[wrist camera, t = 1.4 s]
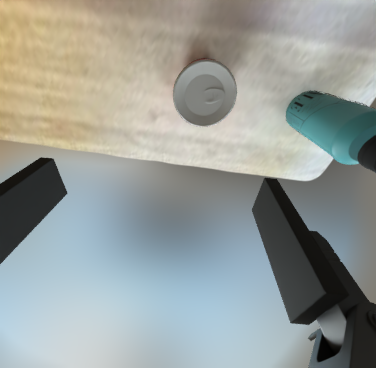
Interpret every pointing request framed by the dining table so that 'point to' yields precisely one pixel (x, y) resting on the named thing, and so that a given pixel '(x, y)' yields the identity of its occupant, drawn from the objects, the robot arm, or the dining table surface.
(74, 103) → the dining table surface
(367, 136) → the beverage bottle
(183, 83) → the canned food
